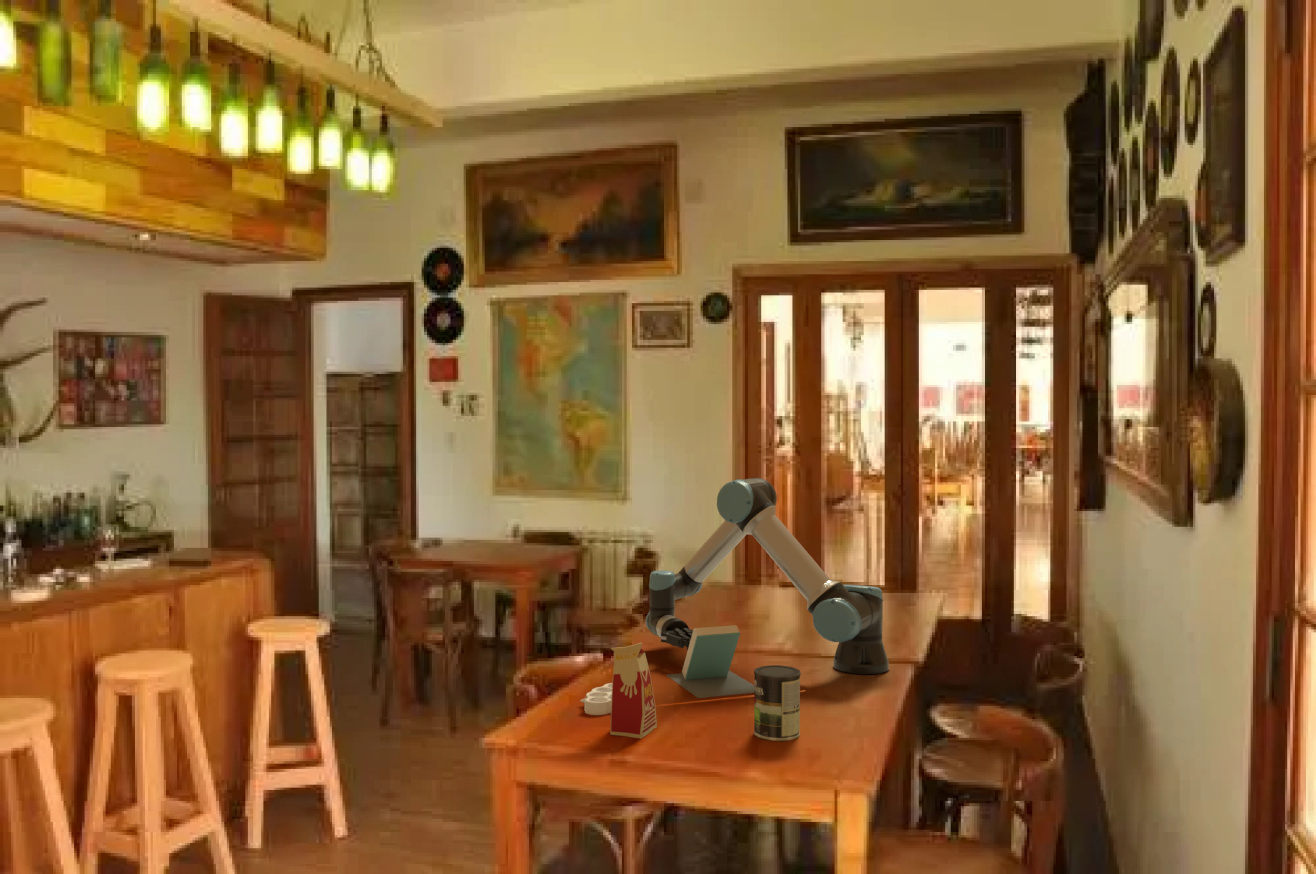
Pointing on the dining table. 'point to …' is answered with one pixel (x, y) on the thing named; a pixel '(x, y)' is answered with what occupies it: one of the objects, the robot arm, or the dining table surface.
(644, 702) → the milk carton
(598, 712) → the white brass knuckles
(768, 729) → the coffee can
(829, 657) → the dining table surface
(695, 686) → the mat
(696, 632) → the tile
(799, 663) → the dining table surface
